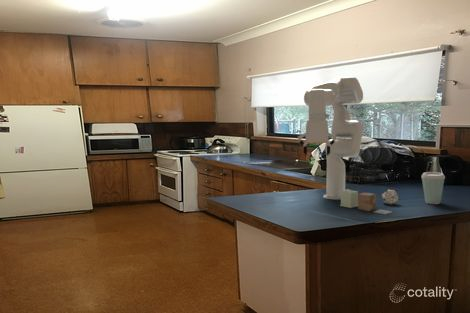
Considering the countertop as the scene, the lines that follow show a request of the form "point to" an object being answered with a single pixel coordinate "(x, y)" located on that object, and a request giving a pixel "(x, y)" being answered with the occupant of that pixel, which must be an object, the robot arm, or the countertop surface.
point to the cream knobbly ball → (390, 196)
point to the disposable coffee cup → (433, 186)
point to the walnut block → (366, 201)
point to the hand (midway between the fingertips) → (316, 155)
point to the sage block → (349, 198)
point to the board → (377, 211)
